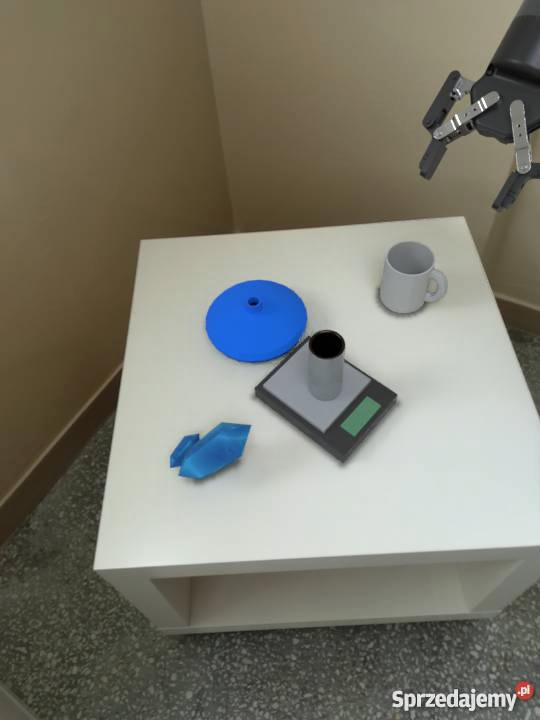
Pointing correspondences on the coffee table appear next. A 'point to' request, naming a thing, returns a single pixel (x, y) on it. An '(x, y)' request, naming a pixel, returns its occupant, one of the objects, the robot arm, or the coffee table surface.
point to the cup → (410, 277)
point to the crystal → (210, 450)
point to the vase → (256, 321)
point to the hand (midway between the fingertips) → (459, 193)
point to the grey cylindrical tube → (326, 364)
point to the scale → (326, 403)
